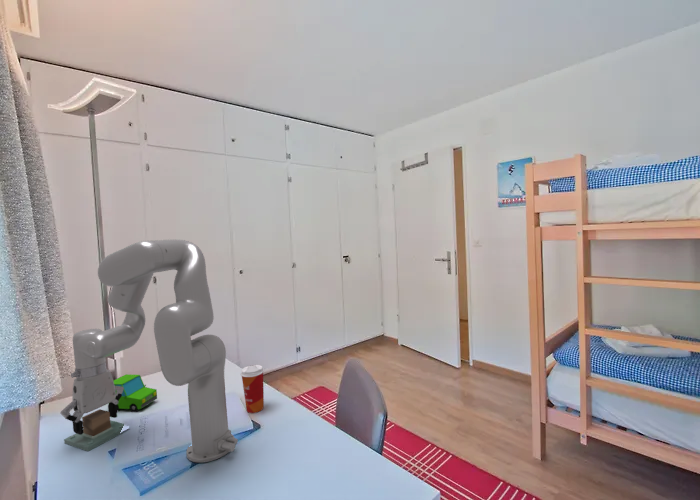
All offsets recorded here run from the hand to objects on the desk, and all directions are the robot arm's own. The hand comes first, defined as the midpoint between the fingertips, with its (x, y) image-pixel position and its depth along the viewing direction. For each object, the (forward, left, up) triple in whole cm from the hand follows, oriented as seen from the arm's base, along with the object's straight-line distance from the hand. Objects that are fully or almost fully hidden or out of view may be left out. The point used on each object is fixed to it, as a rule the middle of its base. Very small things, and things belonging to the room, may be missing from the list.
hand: (96, 424), depth 107 cm
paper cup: (-37, -29, -4) cm, 47 cm away
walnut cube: (0, 0, -2) cm, 2 cm away
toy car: (+8, -17, -4) cm, 19 cm away
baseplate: (0, 0, -4) cm, 4 cm away
